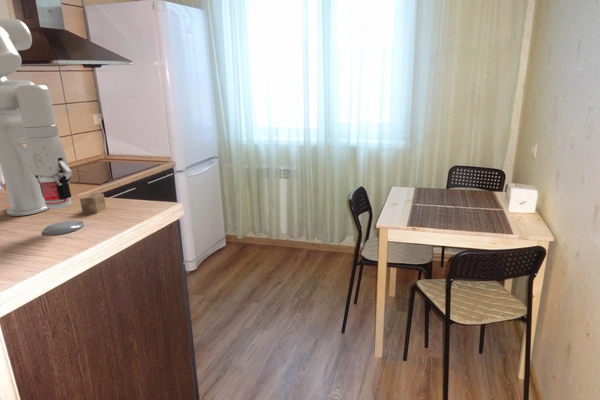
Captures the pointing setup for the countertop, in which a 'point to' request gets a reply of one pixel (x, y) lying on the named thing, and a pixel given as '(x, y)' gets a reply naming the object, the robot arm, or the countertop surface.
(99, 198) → the light brown wooden block
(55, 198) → the pill bottle
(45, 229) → the coaster
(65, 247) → the countertop surface
